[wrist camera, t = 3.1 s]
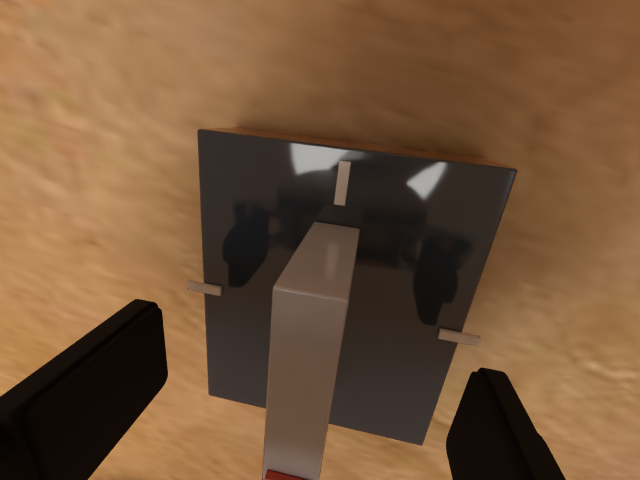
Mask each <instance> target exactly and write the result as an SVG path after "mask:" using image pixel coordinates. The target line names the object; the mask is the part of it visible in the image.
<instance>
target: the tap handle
mask: <svg viewBox="0 0 640 480" xmlns="http://www.w3.org/2000/svg"><path fill="white" fill-rule="evenodd" d="M359 235H360V229H358V228H352V227H345V226H339V225H333V224H326V223H320V222H314V223H313V224H312V226H311V227H310V229H309V231H308V232H307V234H306V235H305V237H304V239H303V240H302V242H301V243H300V245H299V246H298V248H297V250H296V251H295V253H294V254H293V256H292V258H291V259H290V261H289V262H288V264H287V265H286V267H285V269H284V270H283V272H282V273H281V275H280V276H279V278H278V280H277V281H276V283H275V284H274V286H273V292H272V310H271V328H270V346H269V364H268V382H267V400H266V418H265V437H264V455H263V473H262V480H319V478H320V472H321V466H322V460H323V454H324V448H325V442H326V436H327V430H328V424H329V418H330V412H331V406H332V400H333V394H334V388H335V382H336V376H337V370H338V364H339V358H340V352H341V346H342V340H343V334H344V328H345V322H346V316H347V310H348V304H349V298H350V292H351V285H352V279H353V273H354V266H355V260H356V254H357V247H358V241H359Z"/></svg>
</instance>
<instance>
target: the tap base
mask: <svg viewBox="0 0 640 480" xmlns="http://www.w3.org/2000/svg"><path fill="white" fill-rule="evenodd" d="M197 132H198V156H199V179H200V203H201V226H202V250H203V273H204V283H201V282H196V281H190V280H189V281H188V282H187V289H188V290H192V291H197V292H202V293H204V296H205V320H206V343H207V367H208V390H209V395H211V396H215V397H219V398H224V399H228V400H232V401H236V402H240V403H245V404H249V405H253V406H257V407H261V408H265V409H266V400H267V382H268V364H269V346H270V328H271V310H272V292H273V286H274V284H275V283H276V281H277V280H278V278H279V276H280V275H281V273H282V272H283V270H284V269H285V267H286V265H287V264H288V262H289V261H290V259H291V258H292V256H293V254H294V253H295V251H296V250H297V248H298V246H299V245H300V243H301V242H302V240H303V239H304V237H305V235H306V234H307V232H308V231H309V229H310V227H311V226H312V224H313V223H314V222H320V223H326V224H333V225H339V226H345V227H352V228H358V229H360V235H359V241H358V247H357V254H356V260H355V266H354V273H353V279H352V285H351V292H350V298H349V304H348V310H347V316H346V322H345V328H344V334H343V340H342V346H341V352H340V358H339V364H338V370H337V376H336V382H335V388H334V394H333V400H332V406H331V412H330V418H329V424H333V425H337V426H341V427H345V428H349V429H353V430H358V431H362V432H366V433H370V434H374V435H379V436H383V437H387V438H391V439H395V440H400V441H404V442H408V443H412V444H416V445H423V442H424V439H425V436H426V433H427V430H428V428H429V425H430V422H431V419H432V416H433V413H434V410H435V407H436V404H437V402H438V399H439V396H440V393H441V390H442V387H443V384H444V381H445V378H446V376H447V373H448V370H449V367H450V364H451V361H452V358H453V355H454V352H455V350H456V347H457V344H458V343H463V344H468V345H473V346H478V345H479V343H480V340H481V338H480V336H477V335H472V334H467V333H462V329H463V327H464V324H465V321H466V318H467V315H468V312H469V309H470V306H471V303H472V301H473V298H474V295H475V292H476V289H477V286H478V283H479V280H480V277H481V275H482V272H483V269H484V266H485V263H486V260H487V257H488V254H489V251H490V249H491V246H492V243H493V240H494V237H495V234H496V231H497V228H498V225H499V223H500V220H501V217H502V214H503V211H504V208H505V205H506V202H507V200H508V197H509V194H510V191H511V188H512V185H513V182H514V179H515V176H516V174H517V169H515V168H512V167H509V166H506V165H503V164H500V163H497V162H494V161H491V160H488V159H485V158H480V157H472V156H464V155H456V154H448V153H440V152H432V151H424V150H416V149H408V148H399V147H391V146H383V145H375V144H367V143H359V142H351V141H343V140H335V139H327V138H319V137H311V136H303V135H294V134H286V133H278V132H270V131H262V130H254V129H246V128H238V127H231V128H206V129H198V131H197Z"/></svg>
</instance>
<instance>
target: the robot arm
mask: <svg viewBox="0 0 640 480" xmlns="http://www.w3.org/2000/svg"><path fill="white" fill-rule="evenodd" d="M167 377H168V370H167V359H166V349H165V339H164V328H163V318H162V311H161V309H160V308H158V305H157V304H156V303H155V302H150V301H145V300H140V299H135V300H134V301H132V302H130V303H129V304H128V305H126V306H125V307H124V308H122V309H121V310H119V311H118V312H117V313H115V314H114V315H112V316H111V317H110V318H108V319H107V320H106V321H104V322H103V323H101V324H100V325H99V326H97V327H96V328H95V329H93V330H92V331H90V332H89V333H88V334H86V335H85V336H84V337H82V338H81V339H79V340H78V341H77V342H75V343H74V344H72V345H71V346H70V347H68V348H67V349H66V350H64V351H63V352H61V353H60V354H59V355H57V356H56V357H55V358H53V359H52V360H50V361H49V362H48V363H46V364H45V365H44V366H42V367H41V368H39V369H38V370H37V371H35V372H34V373H32V374H31V375H30V376H28V377H27V378H26V379H24V380H23V381H21V382H20V383H19V384H17V385H16V386H15V387H13V388H12V389H10V390H9V391H8V392H6V393H5V394H4V395H2V396H1V397H0V480H88V479H89V477H90V476H91V475H92V474H93V472H94V471H95V470H96V469H97V467H98V466H99V465H100V464H101V462H102V461H103V460H104V459H105V458H106V456H107V455H108V454H109V453H110V451H111V450H112V449H113V448H114V446H115V445H116V444H117V443H118V441H119V440H120V439H121V438H122V437H123V435H124V434H125V433H126V432H127V430H128V429H129V428H130V427H131V425H132V424H133V423H134V422H135V420H136V419H137V418H138V417H139V416H140V414H141V413H142V412H143V411H144V409H145V408H146V407H147V406H148V404H149V403H150V402H151V401H152V400H153V398H154V397H155V396H156V395H157V393H158V392H159V391H160V390H161V388H162V387H163V386H164V384H165V382H166V380H167ZM446 450H447V456H448V460H449V465H450V469H451V474H452V478H453V480H566V479H565V477H564V476H563V474H562V472H561V470H560V468H559V466H558V464H557V463H556V461H555V459H554V457H553V455H552V453H551V452H550V450H549V448H548V446H547V444H546V442H545V441H544V440H543V438H542V437H541V436H540V435H539V434H538V433H537V431H536V429H535V427H534V425H533V423H532V422H531V420H530V418H529V416H528V414H527V412H526V410H525V408H524V407H523V405H522V403H521V401H520V399H519V397H518V395H517V393H516V391H515V390H514V388H513V386H512V384H511V382H510V380H509V378H508V376H507V375H506V374H505V373H504V372H502V371H497V370H492V369H487V368H480V369H479V370H478V371H477V372H472V373H471V375H470V377H469V380H468V383H467V385H466V388H465V391H464V393H463V396H462V399H461V401H460V404H459V407H458V409H457V412H456V415H455V417H454V420H453V422H452V425H451V428H450V430H449V433H448V436H447V440H446Z"/></svg>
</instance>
